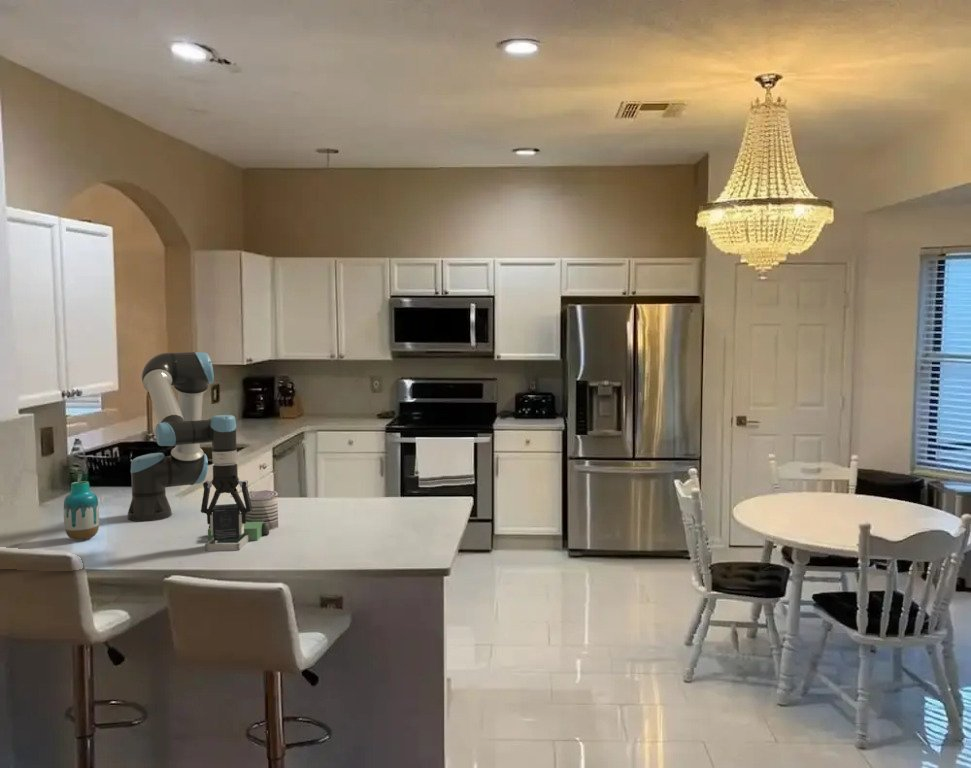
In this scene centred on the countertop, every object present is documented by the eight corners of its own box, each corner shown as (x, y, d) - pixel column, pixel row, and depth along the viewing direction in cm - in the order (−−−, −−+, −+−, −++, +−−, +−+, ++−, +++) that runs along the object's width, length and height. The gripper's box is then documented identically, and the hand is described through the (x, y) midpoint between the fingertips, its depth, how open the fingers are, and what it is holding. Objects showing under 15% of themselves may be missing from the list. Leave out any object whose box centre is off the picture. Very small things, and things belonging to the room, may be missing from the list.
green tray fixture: (191, 551, 262) (190, 525, 262) (212, 534, 284) (211, 511, 283) (253, 549, 262) (252, 524, 262) (269, 533, 284) (269, 509, 284)
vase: (77, 544, 273) (74, 486, 272) (58, 540, 279) (55, 483, 277) (106, 537, 282) (104, 481, 281) (88, 534, 288) (85, 478, 286)
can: (285, 524, 297) (284, 491, 296) (267, 532, 286) (265, 497, 285) (257, 522, 300) (256, 489, 300) (238, 530, 290) (237, 495, 289)
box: (241, 535, 272) (240, 503, 271) (239, 539, 266) (238, 506, 266) (216, 536, 270) (214, 504, 270) (213, 541, 265) (212, 508, 264)
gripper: (187, 466, 263) (190, 537, 264) (255, 464, 263) (257, 536, 265) (195, 462, 270) (198, 531, 272) (261, 461, 271) (263, 530, 272)
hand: (227, 533), depth 268 cm, fingers closed on box, 8 cm apart
